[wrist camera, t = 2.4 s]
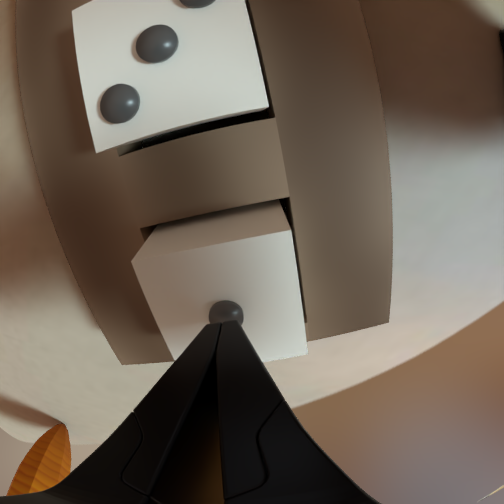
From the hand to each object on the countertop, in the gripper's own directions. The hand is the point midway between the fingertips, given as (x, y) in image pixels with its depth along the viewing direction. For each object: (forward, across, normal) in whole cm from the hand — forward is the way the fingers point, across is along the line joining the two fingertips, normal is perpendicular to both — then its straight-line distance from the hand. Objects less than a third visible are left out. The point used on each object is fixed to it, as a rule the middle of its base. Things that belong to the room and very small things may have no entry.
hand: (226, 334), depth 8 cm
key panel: (+6, 0, -8) cm, 9 cm away
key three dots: (+4, 0, -8) cm, 9 cm away
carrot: (+6, +19, +14) cm, 24 cm away
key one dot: (+4, 0, 0) cm, 4 cm away
